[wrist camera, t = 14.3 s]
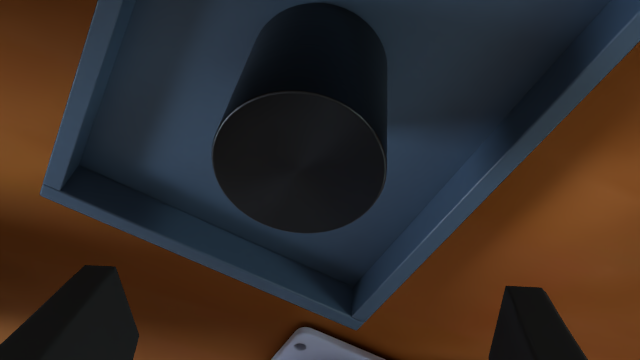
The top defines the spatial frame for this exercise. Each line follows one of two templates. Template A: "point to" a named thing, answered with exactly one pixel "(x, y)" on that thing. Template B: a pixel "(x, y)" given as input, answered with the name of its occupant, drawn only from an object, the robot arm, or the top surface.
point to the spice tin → (307, 122)
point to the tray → (402, 130)
